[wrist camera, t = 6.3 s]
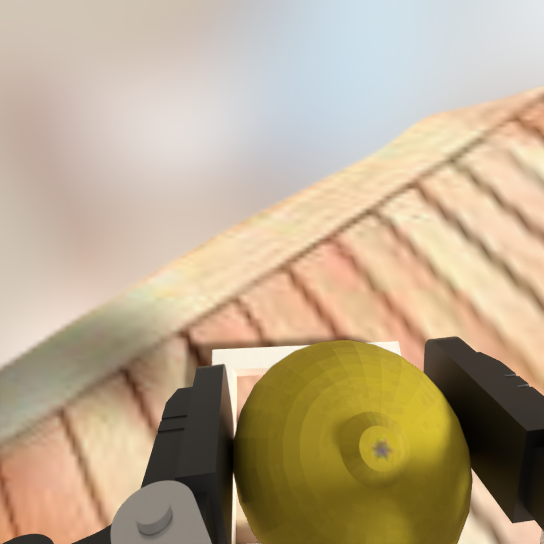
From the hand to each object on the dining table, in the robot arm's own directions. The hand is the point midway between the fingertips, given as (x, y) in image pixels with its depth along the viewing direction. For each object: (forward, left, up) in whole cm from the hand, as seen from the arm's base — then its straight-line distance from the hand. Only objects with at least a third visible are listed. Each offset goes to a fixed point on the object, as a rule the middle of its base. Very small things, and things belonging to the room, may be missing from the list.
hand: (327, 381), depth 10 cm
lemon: (0, -2, -5) cm, 5 cm away
